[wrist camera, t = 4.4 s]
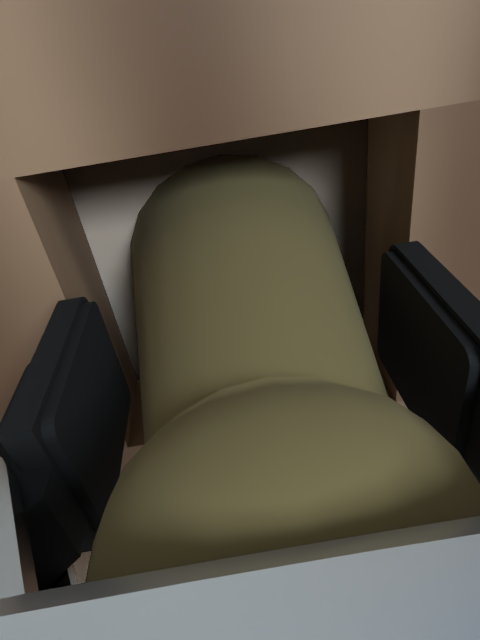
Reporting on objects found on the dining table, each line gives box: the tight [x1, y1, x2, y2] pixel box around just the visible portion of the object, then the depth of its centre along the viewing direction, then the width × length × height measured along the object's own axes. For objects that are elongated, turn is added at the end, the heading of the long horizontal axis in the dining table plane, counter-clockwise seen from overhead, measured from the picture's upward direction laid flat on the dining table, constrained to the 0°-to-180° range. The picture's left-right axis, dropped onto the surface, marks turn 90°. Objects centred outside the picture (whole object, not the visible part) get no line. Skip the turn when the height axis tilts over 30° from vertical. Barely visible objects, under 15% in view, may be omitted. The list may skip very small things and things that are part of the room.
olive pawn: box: [85, 155, 480, 583], centre depth 9 cm, size 6×6×11 cm
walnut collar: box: [0, 0, 480, 475], centre depth 12 cm, size 16×16×3 cm
